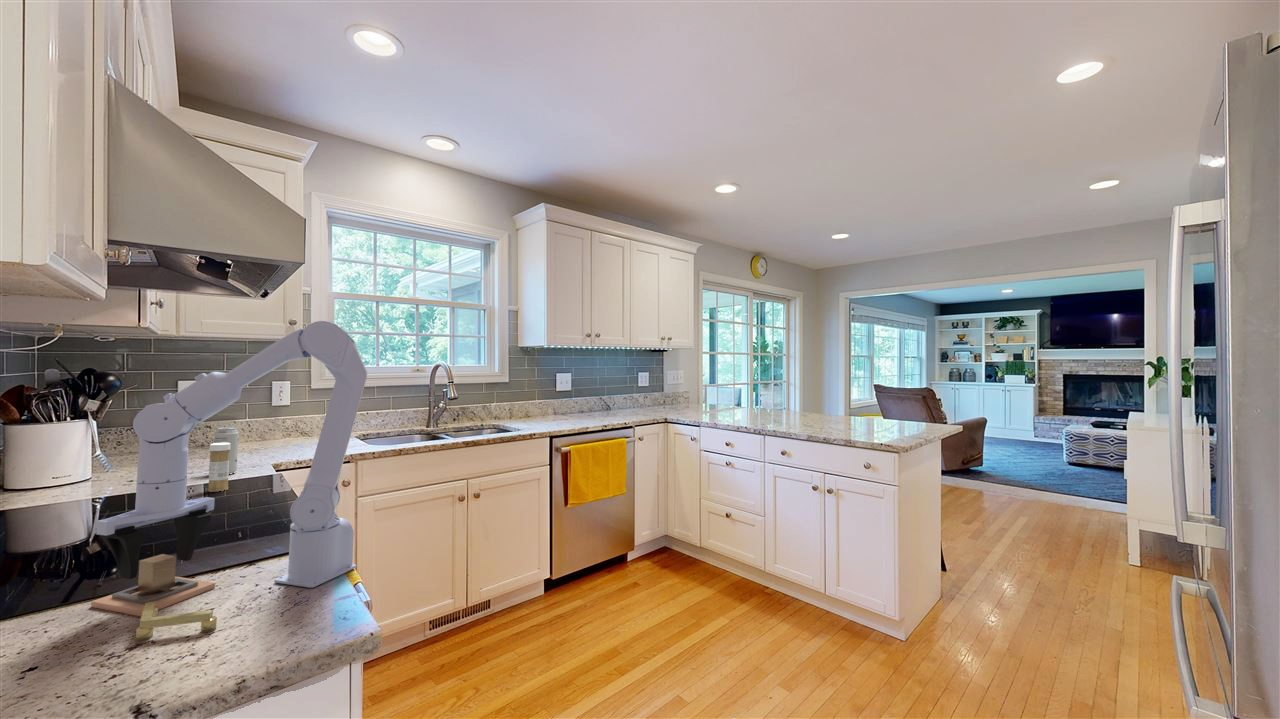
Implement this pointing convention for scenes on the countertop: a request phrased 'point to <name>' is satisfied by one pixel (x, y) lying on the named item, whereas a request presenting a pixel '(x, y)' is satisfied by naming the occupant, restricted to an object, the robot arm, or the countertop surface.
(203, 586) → the tile
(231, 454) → the energy drink can
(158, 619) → the brass bent rod
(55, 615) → the countertop surface
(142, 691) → the countertop surface
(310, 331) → the robot arm
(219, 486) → the sprinkles bottle
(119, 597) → the grey window frame
